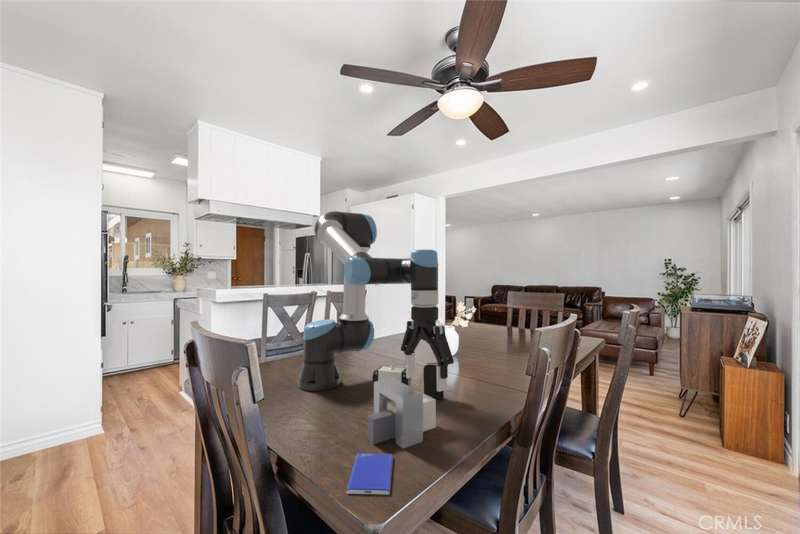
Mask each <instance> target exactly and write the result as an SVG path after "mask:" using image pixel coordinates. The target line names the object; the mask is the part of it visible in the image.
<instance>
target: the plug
mask: <svg viewBox="0 0 800 534" xmlns="http://www.w3.org/2000/svg"><path fill="white" fill-rule="evenodd" d="M422 393H423V433H424V432H427V431H429V430H433V429H436V427H437V425H436V424H437V409H436V408H437V401H436V400H437V399H434V398H432V397H430V396H428V395H426V394H424V392H422ZM366 430H367V433H366V434H367V435H366V436H367V437H366V438H367V439H366V440H367V441H369V443H370V444H372V445H377V444H379V443H382V442H386V441H389V440H392V439H396V402H395V401H391V402H387V410H386V411H382V412H379V413H375V414H374V413H371V414H369V415H367V429H366Z"/></svg>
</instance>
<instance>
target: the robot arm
mask: <svg viewBox="0 0 800 534" xmlns="http://www.w3.org/2000/svg"><path fill="white" fill-rule="evenodd" d="M314 234H315V237H316V239H317V240H318V241H319V242H320V244H322V245H324V246H327V248H328V249H329V250H330V251H331V252H332V253H333V255H335V256H336V258H337V259H338V260H339V261H340V262H341V264H343V298H342V299H343V305H342V306H343V307H342V310H343V311H342V314H340V316H338V322H336V320H334V319H329V318H328V319H319V320H315V321H312V322H309V323H307V324H306V325H304V328H303V336H302V339H303V340H302V341H303V355H302V356H303V364H302V367H301V371H300V374H299V375H298V382H297V386H298V388H299V389H300V390H303V391H309V392H320V391H327V390H331V389H334V388H336V387H339V385H340V384H341V376H340V373H339V369H338V367H337V364H336V355H337V354H347V353H353V352H361V351H365V350H367V349H369V348H370V347H371V346H372V344H373V342H374V340H375V339H374V338H375V328H374V324H373V322H372V321H371V320H369V319H370V317H369V316H368V315H367V314H366V288H367V287H366V286H367V285H403V284H405V285H406V284H407V285H410V291H411V293H410V299H411V300H410V302H411V303H410V304H411V305H412V306H411V308H410V319H411V320H407V321H406V329H405V333H404V336H403V339H402V342H401V347H400V351H401V352H403V353H404V355H405V368H406V378H411V379H412V378H415V377H416V354H415V353H416V352H415V351H416V348H418V345H419V344H420V342H421V340H422V341H424V342H426V343H427V344H428V345H429V347H430V349H431V350H432V353H433V356H434V357H435V359H436V361H437V362H436V363H438V365H436V369H437V391H438V392H440V391H444V392H445V391H447V390H448V389H447V385H448V384H447V379H448V374H449V372H448V365H452V364H454V362H455V361H454V357H453V355H452V352H451V349H450V345H449V341H448V339H447V335H446V329H445V326H444V325H438V326H437V323H436V322H437V321H439V307H438V305H439V261H438V260H439V258H438V252H437V251H436V250H434V249H413V250H412V251H411V252H410V256H409V257H408V258H396V257H395V258H389V257H388V258H386V257H372V256H371V255H370V254H369V253H368V252H369V251H370V249H371V245H373V244H375V242H376V241H377V240H376V239H377V234H378V228H377V224H376V222H375V220H374V219H373V216H370V215H369V214H363V213H357V212H356V213H355V212H348V211H347V212H345V211H335V210H332V211H328V212H326V213H323V214H322V215H321V216H320V217H318V219H317V220H316V222H315V224H314Z"/></svg>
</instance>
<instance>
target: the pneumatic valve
mask: <svg viewBox="0 0 800 534" xmlns="http://www.w3.org/2000/svg"><path fill="white" fill-rule="evenodd" d="M390 378H393V379H395V380H397V381H399V382H401V383H404V384H406V385H408V386H410V387H411V384H412V378H406V367H397V366H396V367H395V366H394V365H391V364H390V366H383V365H380V366H379V367H378V368H377V369H376V370H374V371H373V373H372V381H371V382H372V384H373V385H374V382H376V381H381V380H386V379H390Z"/></svg>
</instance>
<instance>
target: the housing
mask: <svg viewBox="0 0 800 534" xmlns="http://www.w3.org/2000/svg"><path fill="white" fill-rule="evenodd" d="M423 393H424V392H421V391H420V390H417V388H414V387H412V386H411V385H410V386H408V385H406V384H404V383H401V382H399V381H397V380H395V379H393V378H390V379H386V380H381V381H376V382H374V384H373V414H375V413H379V412H382V411H386V410H387V402H391V401H395V402H396V438H395V444H396V445H398V447H400V448H401V449H403V450H404V449H406V448H409V447H413V446H415V445H417V444H421V443H423V442H424V432H423Z"/></svg>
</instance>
